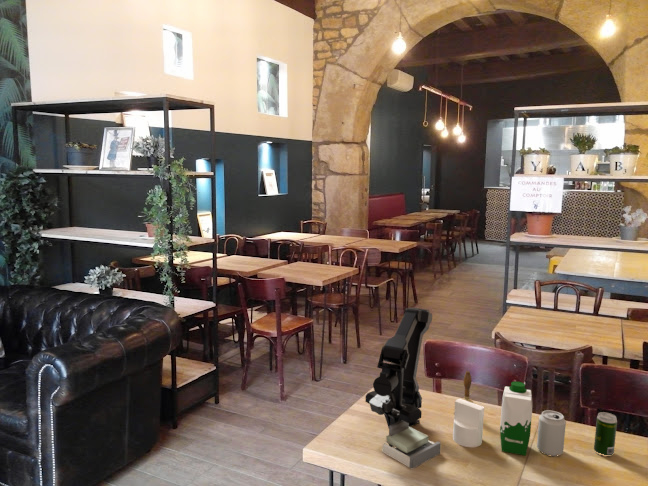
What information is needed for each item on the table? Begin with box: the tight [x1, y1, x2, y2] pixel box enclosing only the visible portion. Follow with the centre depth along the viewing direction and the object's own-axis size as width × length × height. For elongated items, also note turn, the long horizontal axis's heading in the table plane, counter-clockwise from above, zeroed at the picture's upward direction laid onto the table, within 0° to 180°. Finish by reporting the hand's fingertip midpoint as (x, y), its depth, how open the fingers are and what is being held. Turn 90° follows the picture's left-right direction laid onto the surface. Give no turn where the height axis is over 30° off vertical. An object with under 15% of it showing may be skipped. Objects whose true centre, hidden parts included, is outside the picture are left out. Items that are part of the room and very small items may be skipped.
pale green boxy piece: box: [385, 420, 430, 455], centre depth 160 cm, size 10×8×6 cm
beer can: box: [593, 411, 618, 456], centre depth 160 cm, size 5×5×12 cm
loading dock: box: [381, 439, 441, 470], centre depth 159 cm, size 13×12×4 cm
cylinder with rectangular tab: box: [452, 398, 485, 448], centre depth 166 cm, size 9×9×12 cm
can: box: [536, 409, 567, 457], centre depth 161 cm, size 8×8×12 cm
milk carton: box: [499, 380, 533, 457], centre depth 161 cm, size 9×9×20 cm
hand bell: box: [462, 370, 474, 403], centre depth 183 cm, size 8×8×16 cm
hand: (391, 431), depth 164 cm, fingers closed
